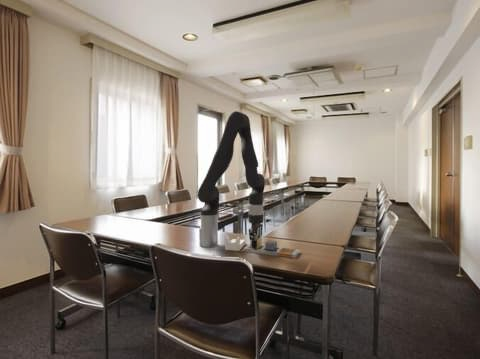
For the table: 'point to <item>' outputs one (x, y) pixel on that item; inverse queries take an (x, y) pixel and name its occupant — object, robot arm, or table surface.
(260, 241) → the yellow gold block
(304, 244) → the table surface
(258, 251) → the grey long flat tray
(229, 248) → the bracket
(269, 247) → the brushed steel cube
